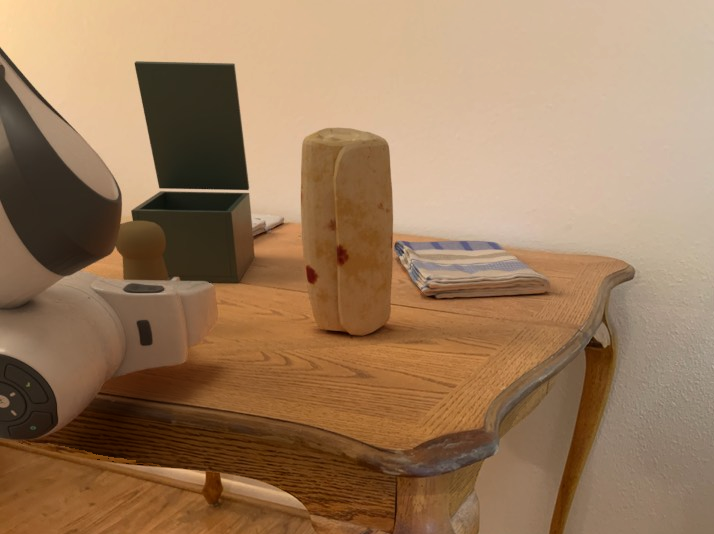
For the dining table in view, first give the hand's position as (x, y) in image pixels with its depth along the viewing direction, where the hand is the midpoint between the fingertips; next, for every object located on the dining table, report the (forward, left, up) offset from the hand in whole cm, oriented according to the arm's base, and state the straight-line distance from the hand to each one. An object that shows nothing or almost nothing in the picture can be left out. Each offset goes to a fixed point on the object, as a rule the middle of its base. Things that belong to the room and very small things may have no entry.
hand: (126, 283), depth 77 cm
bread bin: (0, +32, -6) cm, 33 cm away
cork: (0, +6, -7) cm, 9 cm away
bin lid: (0, +38, +10) cm, 39 cm away
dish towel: (+37, +31, -7) cm, 49 cm away
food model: (+22, +6, -7) cm, 24 cm away
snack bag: (-3, +58, -7) cm, 59 cm away
